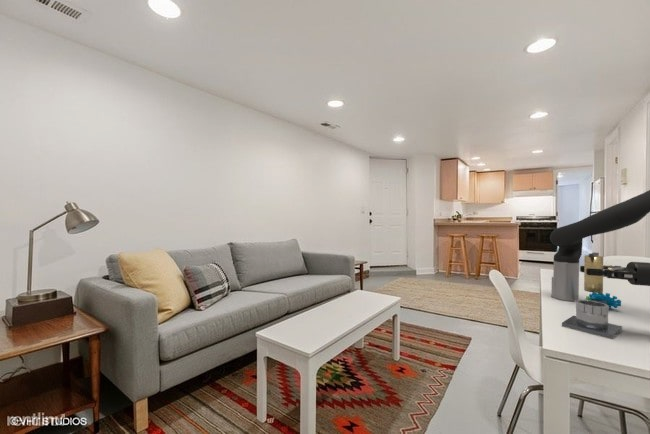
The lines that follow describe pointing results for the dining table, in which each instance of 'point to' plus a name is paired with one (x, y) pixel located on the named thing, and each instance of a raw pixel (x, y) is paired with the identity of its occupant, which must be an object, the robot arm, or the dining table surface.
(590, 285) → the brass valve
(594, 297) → the gear
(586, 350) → the dining table surface
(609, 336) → the pipe socket
